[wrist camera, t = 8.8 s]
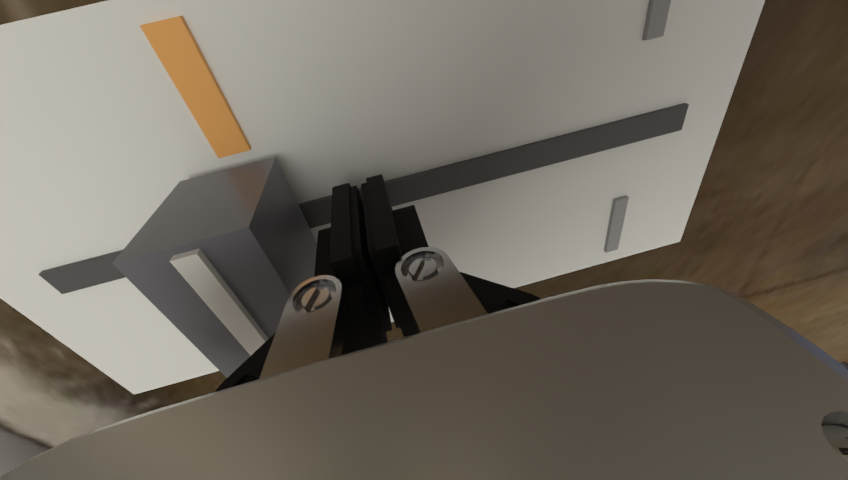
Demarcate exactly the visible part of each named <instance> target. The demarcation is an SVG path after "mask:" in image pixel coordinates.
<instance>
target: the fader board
mask: <svg viewBox="0 0 848 480" xmlns="http://www.w3.org/2000/svg"><path fill="white" fill-rule="evenodd" d="M764 2H765V0H108V1H103V2H99V3H94V4H90V5H86V6H81V7H77V8H73V9H68V10H64V11H59V12H55V13H51V14H46V15H42V16H38V17H33V18H29V19H25V20H20V21H16V22H11V23H7V24H3V25H0V298H1V299H2V300H4V301H5V302H6V303H8V304H9V305H11V306H12V307H13V308H15V309H16V310H17V311H19V312H20V313H22V314H23V315H24V316H26V317H27V318H29V319H30V320H31V321H33V322H34V323H36V324H37V325H38V326H40V327H41V328H42V329H44V330H45V331H47V332H48V333H49V334H51V335H52V336H54V337H55V338H56V339H58V340H59V341H61V342H62V343H63V344H65V345H66V346H67V347H69V348H70V349H72V350H73V351H74V352H76V353H77V354H79V355H80V356H81V357H83V358H84V359H86V360H87V361H88V362H90V363H91V364H92V365H94V366H95V367H97V368H98V369H99V370H101V371H102V372H104V373H105V374H106V375H108V376H109V377H111V378H112V379H113V380H115V381H116V382H117V383H119V384H120V385H122V386H123V387H124V388H126V389H127V390H129V391H130V392H131V393H133V394H138V393H142V392H145V391H149V390H152V389H156V388H159V387H163V386H167V385H170V384H174V383H177V382H181V381H184V380H188V379H191V378H195V377H199V376H202V375H206V374H209V373H213V372H216V371H219V370H218V369H217V368H216V367H215V366H214V365H213V364H212V363H211V362H210V361H209V360H208V359H207V358H206V357H205V356H204V355H203V354H202V353H201V352H200V351H199V350H198V349H197V348H196V347H195V346H194V345H193V344H192V343H191V342H190V341H189V340H188V339H187V338H186V337H185V336H184V335H183V334H182V333H181V332H180V331H179V330H178V329H177V328H176V327H175V326H174V325H173V324H172V323H171V322H170V321H169V320H168V319H167V318H166V317H165V316H164V315H163V314H162V313H161V312H160V311H159V310H158V309H157V308H156V307H155V306H154V305H153V304H152V303H151V302H150V301H149V300H148V299H147V298H146V297H145V296H144V295H143V294H142V293H141V292H140V291H139V290H138V289H137V288H136V287H135V286H134V285H133V284H132V283H131V282H130V281H129V280H128V279H127V278H126V277H125V276H124V275H123V274H122V273H121V272H120V271H119V270H118V269H117V268H116V267H115V266H114V265H113V264H112V263H113V262H114V260H115V259H116V258H117V257H118V255H119V254H120V253H121V252H122V251H123V249H124V248H125V247H126V246H127V245H128V243H129V242H130V241H131V240H132V239H133V237H134V236H135V235H136V234H137V233H138V231H139V230H140V229H141V228H142V227H143V225H144V224H145V223H146V222H147V221H148V219H149V218H150V217H151V216H152V214H153V213H154V212H155V211H156V210H157V208H158V207H159V206H160V205H161V204H162V202H163V201H164V200H165V199H166V198H167V196H168V195H169V194H170V193H171V192H172V190H173V189H174V188H175V187H176V186H177V184H178V183H179V182H180V181H183V180H187V179H191V178H195V177H199V176H203V175H207V174H211V173H215V172H219V171H223V170H226V169H230V168H234V167H238V166H242V165H246V164H250V163H254V162H258V161H262V160H266V159H270V158H274V157H276V159H277V161H278V163H279V165H280V167H281V169H282V171H283V174H284V176H285V178H286V180H287V182H288V184H289V186H290V188H291V190H292V192H293V194H294V196H295V198H296V200H297V203H298V205H299V207H300V209H301V211H302V213H303V215H304V217H305V219H306V221H307V223H308V225H309V227H310V230H311V232H312V234H313V236H314V238H315V240H316V242H317V238H318V231H319V230H322V229H326V228H329V227H331V208H332V187H335V186H338V185H342V184H346V183H349V184H350V186H351V187H352V186H357V188H358V190H359V193H360V196H361V199H362V202H363V198H362V189H361V184H363V183H367V181H366V178H369V177H372V176H376V175H380V174H382V176H383V179H384V182H385V186H386V189H387V192H388V196H389V199H390V203H391V206H392V210H396V209H400V208H404V207H407V206H411V205H414V206H415V209H416V211H417V214H418V217H419V220H420V223H421V226H422V229H423V232H424V235H425V238H426V241H427V244H428V246H429V247H433V248H438V249H440V250H443V251H444V252H445V253H446V254H447V255H448V256H449V258H450V259H451V260H452V262H453V263H454V265H455V266H456V268H457V269H458V271H459V272H462V273H465V274H469V275H472V276H475V277H478V278H482V279H485V280H488V281H491V282H494V283H498V284H501V285H504V286H507V287H510V288H516V287H520V286H523V285H527V284H530V283H534V282H537V281H541V280H545V279H548V278H552V277H555V276H559V275H562V274H566V273H569V272H573V271H577V270H580V269H584V268H587V267H591V266H594V265H598V264H602V263H605V262H609V261H612V260H616V259H619V258H623V257H627V256H630V255H634V254H637V253H641V252H644V251H648V250H651V249H655V248H659V247H662V246H666V245H669V244H673V243H676V242H680V240H681V238H682V235H683V232H684V229H685V226H686V223H687V221H688V218H689V215H690V212H691V209H692V206H693V204H694V201H695V198H696V195H697V192H698V189H699V187H700V184H701V181H702V178H703V175H704V172H705V170H706V167H707V164H708V161H709V158H710V155H711V153H712V150H713V147H714V144H715V141H716V138H717V136H718V133H719V130H720V127H721V124H722V121H723V119H724V116H725V113H726V110H727V107H728V104H729V102H730V99H731V96H732V93H733V90H734V87H735V85H736V82H737V79H738V76H739V73H740V70H741V68H742V65H743V62H744V59H745V56H746V53H747V51H748V48H749V45H750V42H751V39H752V36H753V34H754V31H755V28H756V25H757V22H758V19H759V17H760V14H761V11H762V8H763V5H764ZM389 313H390V319H391V322H394V320H393V317H392V314H391V312H390V309H389Z"/></svg>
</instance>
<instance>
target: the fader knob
mask: <svg viewBox="0 0 848 480" xmlns="http://www.w3.org/2000/svg"><path fill="white" fill-rule="evenodd" d="M316 249H317V242H316V240H315V238H314V236H313V234H312V232H311V230H310V227H309V225H308V223H307V221H306V219H305V217H304V215H303V213H302V211H301V209H300V207H299V205H298V203H297V200H296V198H295V196H294V194H293V192H292V190H291V188H290V186H289V184H288V182H287V180H286V178H285V176H284V174H283V171H282V169H281V167H280V165H279V163H278V161H277V159H276V157H274V158H270V159H266V160H262V161H258V162H254V163H250V164H246V165H242V166H238V167H234V168H230V169H226V170H223V171H219V172H215V173H211V174H207V175H203V176H199V177H195V178H191V179H187V180H183V181H180V182H179V183H178V184H177V186H176V187H175V188H174V189H173V190H172V192H171V193H170V194H169V195H168V196H167V198H166V199H165V200H164V201H163V202H162V204H161V205H160V206H159V207H158V208H157V210H156V211H155V212H154V213H153V214H152V216H151V217H150V218H149V219H148V221H147V222H146V223H145V224H144V225H143V227H142V228H141V229H140V230H139V231H138V233H137V234H136V235H135V236H134V237H133V239H132V240H131V241H130V242H129V243H128V245H127V246H126V247H125V248H124V249H123V251H122V252H121V253H120V254H119V255H118V257H117V258H116V259H115V260H114V262H113V263H112V264H113V265H114V266H115V267H116V268H117V269H118V270H119V271H120V272H121V273H122V274H123V275H124V276H125V277H126V278H127V279H128V280H129V281H130V282H131V283H132V284H133V285H134V286H135V287H136V288H137V289H138V290H139V291H140V292H141V293H142V294H143V295H144V296H145V297H146V298H147V299H148V300H149V301H150V302H151V303H152V304H153V305H154V306H155V307H156V308H157V309H158V310H159V311H160V312H161V313H162V314H163V315H164V316H165V317H166V318H167V319H168V320H169V321H170V322H171V323H172V324H173V325H174V326H175V327H176V328H177V329H178V330H179V331H180V332H181V333H182V334H183V335H184V336H185V337H186V338H187V339H188V340H189V341H190V342H191V343H192V344H193V345H194V346H195V347H196V348H197V349H198V350H199V351H200V352H201V353H202V354H203V355H204V356H205V357H206V358H207V359H208V360H209V361H210V362H211V363H212V364H213V365H214V366H215V367H216V368H217V369H218V370H219V371H220V372H221V373H222V374H223V375H224V376H225V377H226V378H228V377H229V376H230V375H231V374H232V373H233V372H234V371H235V370H236V369H237V368H238V367H239V366H240V365H242V364H243V363H244V362H245V361H246V360H247V359H248V358H249V357H250V356H251V355H252V354H253V353H254V352H255V351H256V350H257V349H258V348H260V347H261V346H262V345H263V344H264V343H265V342H266V341H267V340H268V339H269V338H270V337H271V336H272V335H273V334H274V333H275V332H276V330H277V327H278V324H279V322H280V319H281V316H282V313H283V310H284V307H285V305H286V302H287V299H288V297H289V296H290V294H291V292H292V291H293V290H294V289H295V288H296V287H297V286H298V285H300V284H301V283H302V282H304V281H306V280H308V279H310V278H312V277H314V271H315V260H316Z"/></svg>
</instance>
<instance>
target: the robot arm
mask: <svg viewBox="0 0 848 480" xmlns="http://www.w3.org/2000/svg"><path fill="white" fill-rule="evenodd" d="M366 181H367V183H363V184H361V189H362V198H363V202H362V199H361V196H360V193H359V190H358V188H357V186H352V187H351V186H350V184H349V183H346V184H342V185H338V186H335V187H332V208H331V227H329V228H326V229H322V230H319V231H318V238H317V249H316V260H315V271H314V277H312V278H310V279H308V280H306V281H304V282H302V283H301V284H300V285H298V286H297V287H296V288H295V289H294V290H293V291H292V292H291V294H290V296H289V297H288V299H287V302H286V305H285V307H284V310H283V313H282V316H281V319H280V322H279V324H278V327H277V330H276V332H275V333H274V334H273V335H272V336H271V337H270V338H269V339H268V340H267V341H266V342H265V343H264V344H263V345H262V346H261V347H260V348H258V349H257V350H256V351H255V352H254V353H253V354H252V355H251V356H250V357H249V358H248V359H247V360H246V361H245V362H244V363H243V364H242V365H240V366H239V367H238V368H237V369H236V370H235V371H234V372H233V373H232V374H231V375H230V376H229V377H228V378H227V379H226V380H225V381H224V382H223V383H222V384H221V385H220V386H219V387H218V388H217V390H216V391H215V392H214V393H210V394H208V393H207V394H205V395H203V396H200V397H197V398H193V399H190V400H186V401H183V402H180V403H176V404H173V405H170V406H166V407H163V408H159V409H156V410H153V411H150V412H147V413H144V414H141V415H138V416H135V417H132V418H129V419H126V420H122V421H119V422H116V423H113V424H110V425H107V426H104V427H101V428H98V429H96V430H93V431H90V432H88V433H85V434H83V435H80V436H78V437H75V438H73V439H70V440H68V441H66V442H64V443H62V444H60V445H58V446H56V447H54V448H52V449H50V450H47V451H45V452H43V453H41V454H39V455H37V456H35V457H33V458H32V459H30V460H28V461H26V462H25V463H23V464H21V465H20V466H18V467H16V468H14V469H13V470H11V471H9V472H8V473H6V474H4V475H3V476H1V477H0V480H848V369H847V368H846V367H844V366H843V365H842V364H840V363H839V362H838V361H836V360H835V359H834V358H832V357H831V356H829V355H828V354H827V353H825V352H824V351H823V350H821V349H820V348H819V347H817V346H816V345H814V344H813V343H812V342H810V341H809V340H807V339H806V338H804V337H803V336H802V335H800V334H799V333H797V332H796V331H794V330H793V329H792V328H790V327H789V326H787V325H786V324H784V323H782V322H781V321H779V320H778V319H776V318H775V317H773V316H772V315H770V314H769V313H767V312H765V311H764V310H762V309H761V308H759V307H757V306H756V305H754V304H752V303H751V302H749V301H747V300H745V299H743V298H741V297H739V296H737V295H736V294H733V293H731V292H729V291H726V290H724V289H722V288H718V287H715V286H711V285H708V284H703V283H697V282H691V281H681V280H652V279H647V280H635V281H622V282H616V283H610V284H604V285H598V286H593V287H589V288H585V289H581V290H577V291H572V292H568V293H564V294H560V295H551V297H548V298H544V299H540V298H539V297H536V296H534V295H532V294H530V293H527V292H523V291H520V290H517V289H514V288H510V287H507V286H504V285H501V284H498V283H494V282H491V281H488V280H485V279H482V278H478V277H475V276H472V275H469V274H465V273H462V272H459V271H458V269H457V268H456V266H455V265H454V263H453V262H452V260H451V259H450V258H449V256H448V255H447V254H446V253H445V252H444V251H443V250H440V249H438V248H433V247H429V246H428V244H427V241H426V238H425V235H424V232H423V229H422V226H421V223H420V220H419V217H418V214H417V211H416V209H415V206H414V205H411V206H407V207H404V208H400V209H396V210H392V206H391V203H390V199H389V196H388V192H387V189H386V186H385V182H384V179H383V176H382V174H380V175H376V176H372V177H369V178H366ZM389 309H390V312H391V314H392V317H393V320H394V322H395V325H396V327H397V328H400V327H401V330H402V333H403V335H404V336H406V337H404V338H401V339H397V340H394V341H390V342H387V336H386V331H390V330H392V326H391V319H390V313H389Z"/></svg>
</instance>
